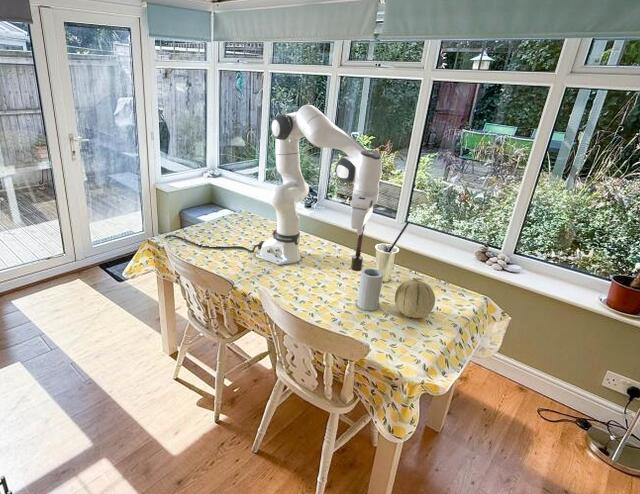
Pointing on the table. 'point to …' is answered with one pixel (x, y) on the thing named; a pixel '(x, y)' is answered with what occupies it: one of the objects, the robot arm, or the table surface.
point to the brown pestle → (357, 255)
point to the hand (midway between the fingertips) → (360, 232)
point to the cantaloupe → (414, 298)
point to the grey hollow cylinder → (369, 289)
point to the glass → (387, 257)
